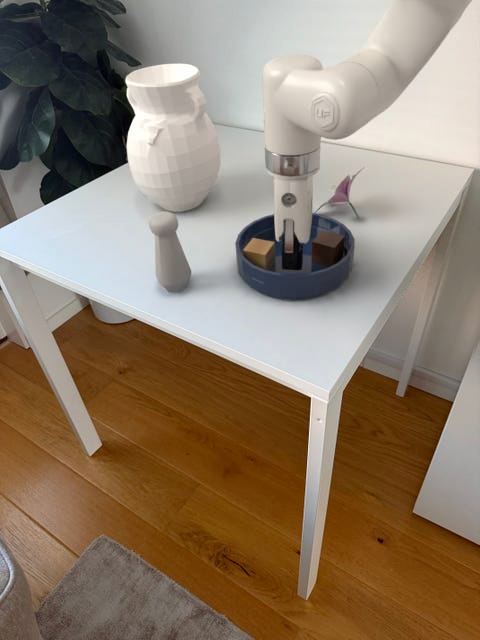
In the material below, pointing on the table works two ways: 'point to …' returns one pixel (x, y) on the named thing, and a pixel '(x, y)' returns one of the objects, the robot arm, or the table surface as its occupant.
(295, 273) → the bowl
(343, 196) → the lily
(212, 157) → the white vase
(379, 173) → the table surface
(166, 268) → the salt shaker
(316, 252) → the walnut block
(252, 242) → the maple block
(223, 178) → the table surface
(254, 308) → the table surface
